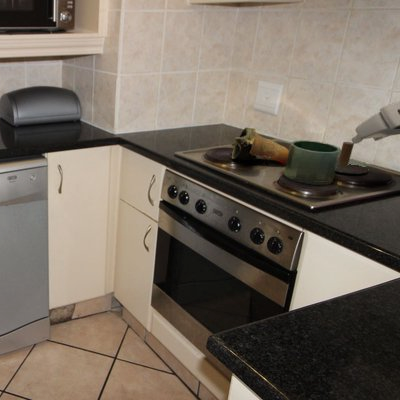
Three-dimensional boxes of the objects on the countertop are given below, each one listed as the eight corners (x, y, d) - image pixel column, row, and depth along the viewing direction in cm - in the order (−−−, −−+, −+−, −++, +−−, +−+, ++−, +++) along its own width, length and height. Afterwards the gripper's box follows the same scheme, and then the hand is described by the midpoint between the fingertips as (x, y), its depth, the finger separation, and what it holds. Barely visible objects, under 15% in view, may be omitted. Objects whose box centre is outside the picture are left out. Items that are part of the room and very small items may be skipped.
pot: (304, 140, 141) (244, 119, 143) (288, 176, 142) (229, 154, 144) (284, 144, 158) (231, 125, 160) (270, 176, 159) (218, 156, 161)
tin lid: (372, 169, 148) (380, 143, 145) (359, 179, 139) (367, 152, 136) (325, 159, 157) (331, 134, 154) (310, 167, 148) (316, 142, 145)
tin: (338, 178, 140) (346, 147, 136) (323, 188, 132) (332, 155, 128) (293, 167, 148) (300, 138, 144) (276, 176, 140) (283, 145, 136)
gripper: (427, 101, 133) (381, 128, 145) (380, 106, 125) (336, 133, 137) (439, 121, 131) (392, 146, 143) (392, 126, 123) (346, 152, 135)
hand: (364, 140), depth 140 cm, fingers open, 8 cm apart
